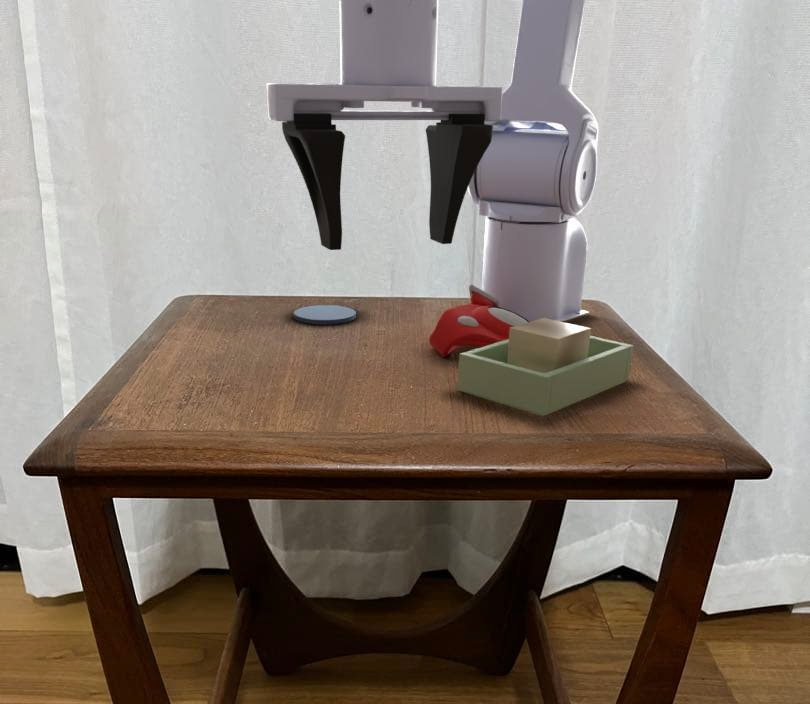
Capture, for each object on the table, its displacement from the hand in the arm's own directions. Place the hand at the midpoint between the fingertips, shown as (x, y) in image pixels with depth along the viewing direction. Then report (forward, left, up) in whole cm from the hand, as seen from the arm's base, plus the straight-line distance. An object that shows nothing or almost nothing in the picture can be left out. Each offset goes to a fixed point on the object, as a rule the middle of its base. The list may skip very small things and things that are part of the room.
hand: (387, 244), depth 57 cm
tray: (-8, +8, -10) cm, 15 cm away
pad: (-11, -18, -10) cm, 23 cm away
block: (-8, +8, -9) cm, 15 cm away
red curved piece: (-14, -1, -10) cm, 17 cm away
